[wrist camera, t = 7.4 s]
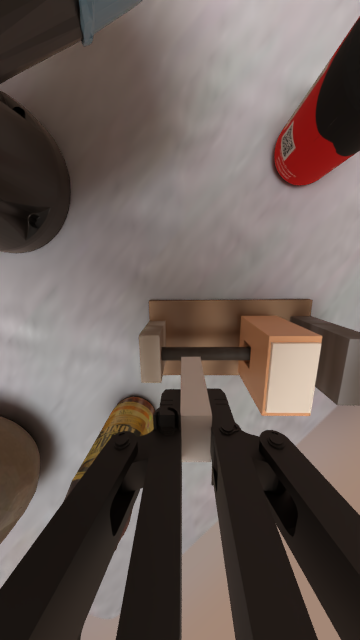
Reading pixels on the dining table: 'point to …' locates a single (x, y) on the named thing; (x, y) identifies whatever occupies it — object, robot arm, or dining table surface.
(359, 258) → the dining table surface
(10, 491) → the bowl
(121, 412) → the sauce bottle
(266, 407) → the sleeve
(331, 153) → the beverage can
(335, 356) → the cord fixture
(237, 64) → the dining table surface
